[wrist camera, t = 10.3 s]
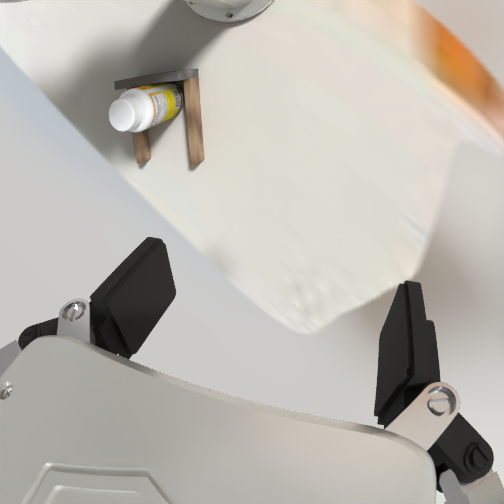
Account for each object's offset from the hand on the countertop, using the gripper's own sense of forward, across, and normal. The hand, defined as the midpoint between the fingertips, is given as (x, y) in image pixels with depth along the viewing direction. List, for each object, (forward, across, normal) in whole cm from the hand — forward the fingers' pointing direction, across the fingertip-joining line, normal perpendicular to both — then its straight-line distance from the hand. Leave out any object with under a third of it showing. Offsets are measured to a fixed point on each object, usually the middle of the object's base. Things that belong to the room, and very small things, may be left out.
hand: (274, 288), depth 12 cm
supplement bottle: (+28, +22, -4) cm, 36 cm away
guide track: (+28, +22, -1) cm, 36 cm away
